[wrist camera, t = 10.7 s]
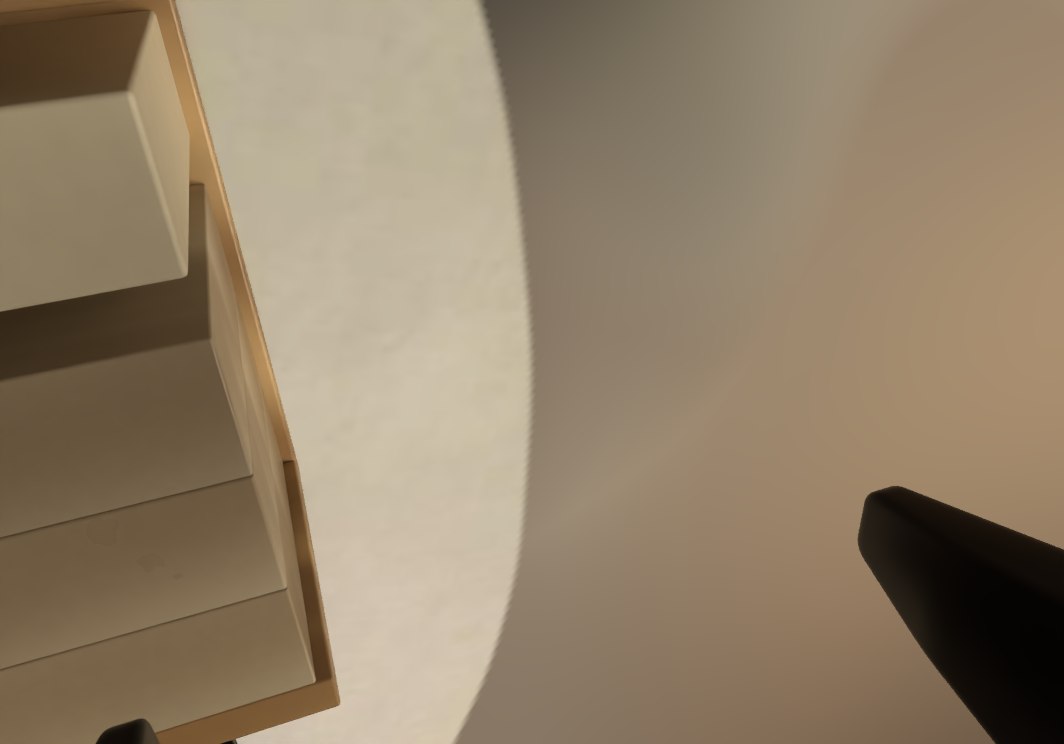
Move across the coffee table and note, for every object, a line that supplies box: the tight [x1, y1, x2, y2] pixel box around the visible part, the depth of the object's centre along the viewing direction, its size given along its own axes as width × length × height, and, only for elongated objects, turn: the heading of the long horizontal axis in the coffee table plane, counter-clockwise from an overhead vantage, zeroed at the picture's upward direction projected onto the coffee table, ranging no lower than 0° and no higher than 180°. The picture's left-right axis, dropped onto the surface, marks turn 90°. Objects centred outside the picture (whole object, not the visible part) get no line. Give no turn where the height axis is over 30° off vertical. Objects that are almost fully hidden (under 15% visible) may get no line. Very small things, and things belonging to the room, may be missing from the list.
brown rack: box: [0, 0, 340, 744], centre depth 15 cm, size 13×6×8 cm, turn 4°
